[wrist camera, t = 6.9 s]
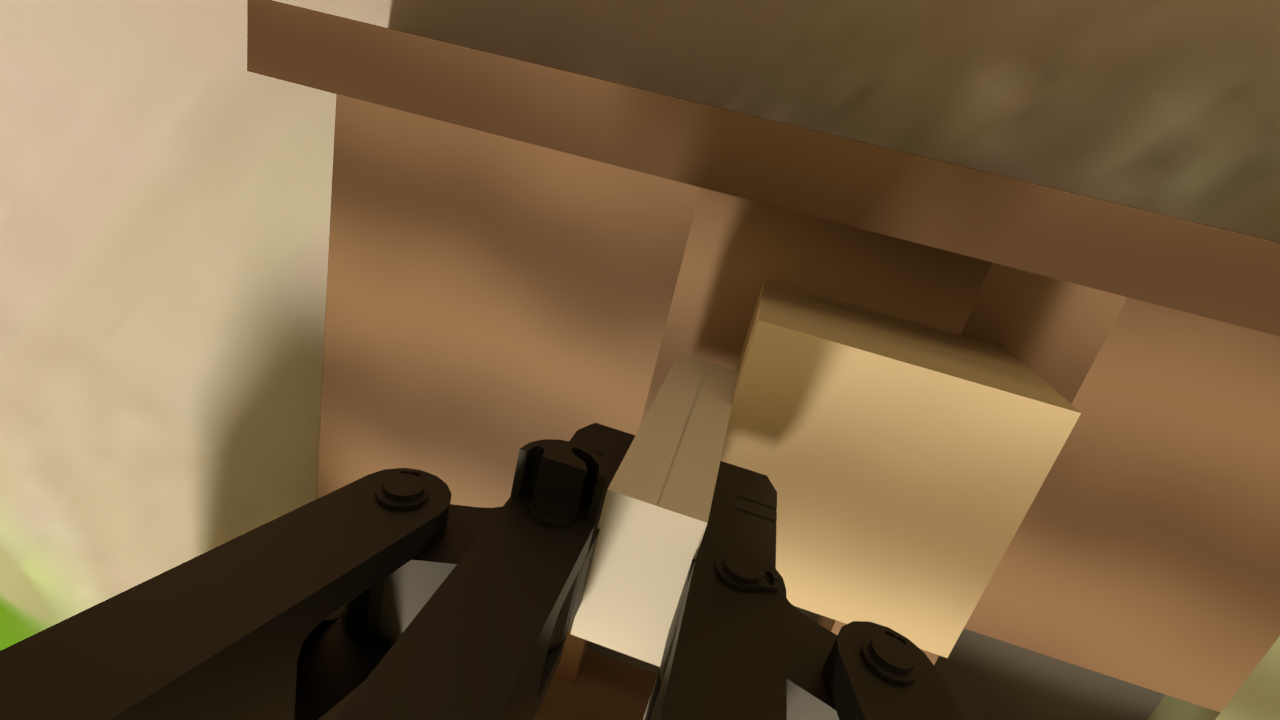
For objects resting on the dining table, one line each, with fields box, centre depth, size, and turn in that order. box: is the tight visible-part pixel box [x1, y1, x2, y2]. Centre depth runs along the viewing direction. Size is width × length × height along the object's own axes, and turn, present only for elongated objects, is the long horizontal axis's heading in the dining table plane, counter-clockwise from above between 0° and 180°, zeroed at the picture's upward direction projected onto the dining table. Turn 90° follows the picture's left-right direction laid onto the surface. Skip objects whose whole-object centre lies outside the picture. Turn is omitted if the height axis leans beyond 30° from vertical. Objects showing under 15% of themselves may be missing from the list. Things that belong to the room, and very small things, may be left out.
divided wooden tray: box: [247, 0, 1280, 720], centre depth 17 cm, size 20×34×5 cm, turn 78°
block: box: [721, 280, 1081, 658], centre depth 15 cm, size 6×6×4 cm
